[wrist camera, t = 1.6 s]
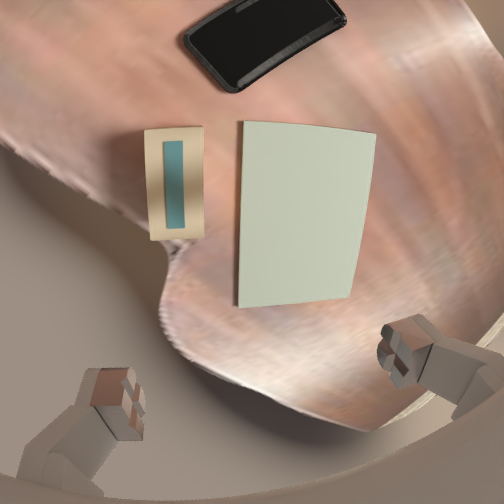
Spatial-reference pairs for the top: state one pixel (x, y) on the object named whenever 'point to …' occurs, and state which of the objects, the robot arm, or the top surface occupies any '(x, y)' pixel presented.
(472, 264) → the top surface
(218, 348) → the top surface
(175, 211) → the maple block
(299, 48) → the phone
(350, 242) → the rubber mat
